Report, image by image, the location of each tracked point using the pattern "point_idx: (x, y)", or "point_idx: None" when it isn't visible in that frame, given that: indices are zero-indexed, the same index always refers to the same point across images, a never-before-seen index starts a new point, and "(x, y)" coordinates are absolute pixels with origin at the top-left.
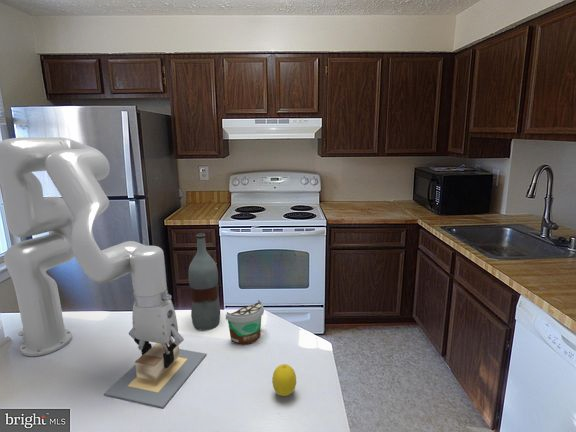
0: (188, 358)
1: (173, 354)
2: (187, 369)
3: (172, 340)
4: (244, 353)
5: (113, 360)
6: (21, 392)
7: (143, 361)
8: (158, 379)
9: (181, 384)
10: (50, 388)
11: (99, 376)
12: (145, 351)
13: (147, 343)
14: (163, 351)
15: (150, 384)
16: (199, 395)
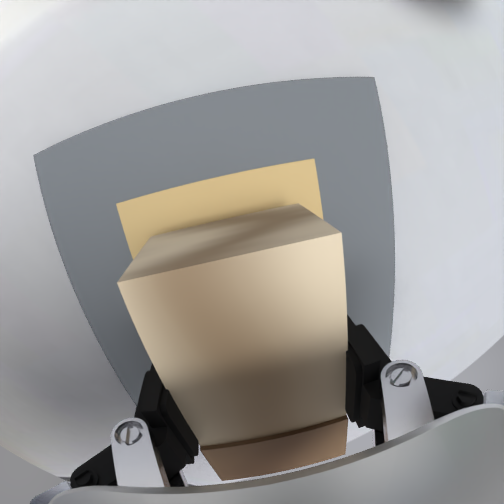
0: (314, 151)
1: (379, 347)
2: (368, 232)
3: (431, 416)
4: (475, 43)
5: (6, 327)
6: (26, 452)
7: (264, 469)
8: None
9: (392, 314)
10: (42, 443)
11: (63, 398)
12: (195, 444)
13: (165, 453)
14: (302, 381)
15: None
16: (453, 305)
